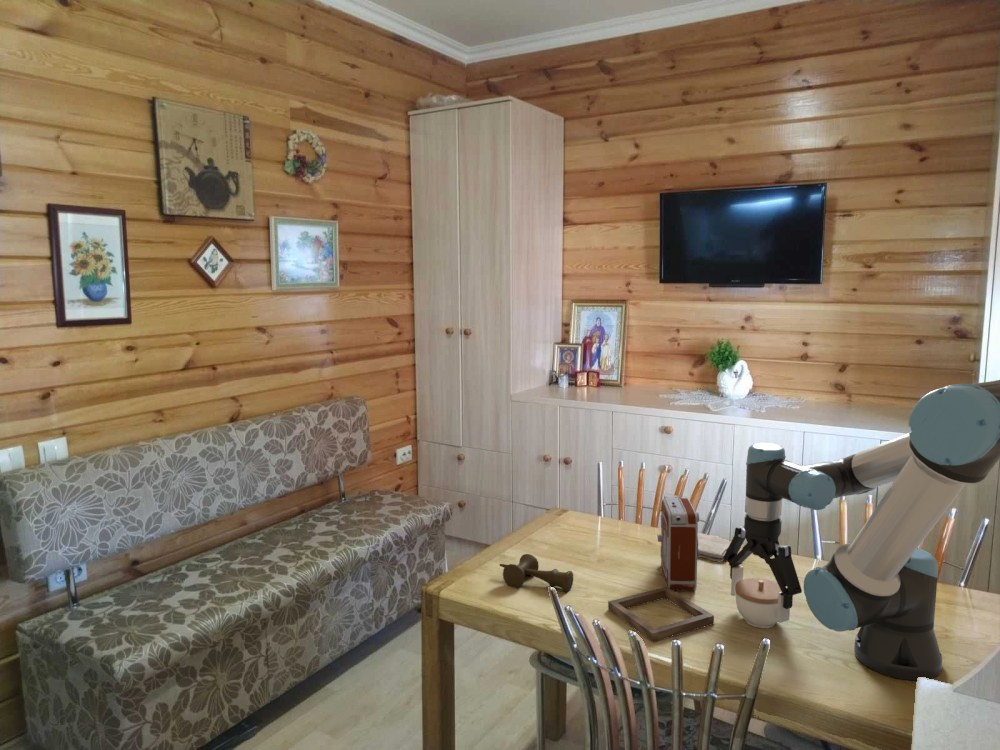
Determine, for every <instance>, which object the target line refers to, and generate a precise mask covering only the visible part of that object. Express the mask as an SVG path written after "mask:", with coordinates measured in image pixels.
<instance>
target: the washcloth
mask: <svg viewBox="0 0 1000 750" xmlns="http://www.w3.org/2000/svg"><path fill="white" fill-rule="evenodd" d="M713 540H714V541H713ZM731 541H732V540H728V539H724V538H721V537H720V536H718V535H710V534H705V533H701V532H698V549H699V558H700V557H703V558H702V559H705V558H708V559H707V560H709V559H711V560H710V561H713V560H715V561H714V562H717V561H719V562H718V563H721V562H722V563H723V560H724V555H725V553H726V551H727V549H728V547H729V545H730V543H731ZM724 561H725V560H724Z"/></svg>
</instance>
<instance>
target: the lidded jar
mask: <svg viewBox="0 0 1000 750" xmlns="http://www.w3.org/2000/svg"><path fill="white" fill-rule="evenodd" d="M735 591H736V595H735V603H736V608H737V610H738V613H739V614H740V616H741V617H742V618H743V619H744V620H745V622H746V623H747V624H748V625H750V626H752V627H754V626H755V628H758V627H759V628H758V629H771V628H772V627H774V626H775V624H776V623H778V622H777V613H778V593H779V592H782V591H781V589H780V587H779V585H778V583H777V581H773V580H770V579H767V578H766V579H765V578H760V577H752V578H751V577H749V578H743V580H740V581H738V582H737V583H736V585H735ZM760 627H761V628H760ZM768 627H769V628H768Z"/></svg>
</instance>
